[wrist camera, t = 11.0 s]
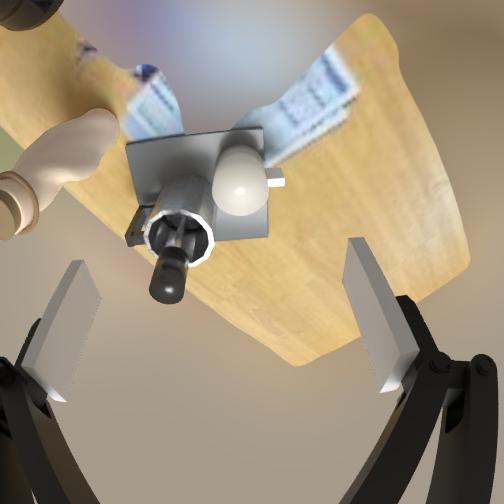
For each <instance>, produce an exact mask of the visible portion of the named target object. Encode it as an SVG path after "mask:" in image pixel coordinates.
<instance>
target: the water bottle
mask: <svg viewBox="0 0 504 504" xmlns="http://www.w3.org/2000/svg"><path fill="white" fill-rule="evenodd" d="M118 136H119V124H118V120H117V118H116V117H115V116H114V114H112V113H111V112H110V111H108V110H106V109H102V108H95V109H92V110H90V111H88V112H86V113H85V114H84V115H82V116H81V117H77V118H74V119H71V120H68V121H66V122H63V123H61V124H59V125H56V126H54V127H52V128H50V129H49V130H47V131H46V132H44V133H43V134H42V135H41V136H40V137H39V138H38V139H37V140H36V141H35V142H33V143H32V144H31V145H30V146H29V147H28V148H27V149H26V150H25V151H24V152H23V154H22V155H21V156H20V158H19V159H18V161H17V162H16V164H15V166H14V168H13V169H12V170H11V171H6V172H3V173H0V240H4V241H5V240H9V239H10V238H12V236H13V235H14V234H26V233H29V232H30V231H31V230H32V229H33V228H34V227H35V226H36V224H37V222H38V217H39V212H41V211H42V210H44V209H45V208H46V207H47V206H48V205H49V204H50V203H51V202H52V200H53V199H54V198H55V196H56V195H57V193H58V192H59V190H60V189H61V187H62V186H63V184H64V183H65V182H67V181H79V180H83V179H86V178H87V177H88V176H90V175H91V174H92V173H93V172H94V171H95V170H96V168H97V167H98V165H99V163H100V160H101V158H102V156H103V155H104V153H105V152H106V151H107V150H108V149H110V148H111V147H112V146H113V145H114V144H115V143H116V141H117V139H118ZM32 218H33V220H32V222H31V224H30V225H29V226H28V227H26V228H24V227H25V226H26V225H27V224H28V223H29V222H30V221H31V219H32ZM23 228H24V229H23Z"/></svg>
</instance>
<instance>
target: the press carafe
mask: <svg viewBox="0 0 504 504" xmlns="http://www.w3.org/2000/svg"><path fill="white" fill-rule="evenodd" d="M217 208H218V206H217V204H216V203H215V201H214V199H213V195H212V184H211V183H210V182H209V181H208V180H207V178H204V177H202V176H199V175H196V174H194V173H186V174H177V175H175V176H174V177H173V178H171V179H170V180H169V181H167V182H166V183H165V184H164V186H163V188H162V191H161V193H160V195H159V197H158V199H157V202H156V204H155V205H147V206H145V205H140V206H139V208H138V210H137V211H136V213H135V215H134V217H133V219H132V221H131V223H130V225H129V227H128V229H127V232H126V234H125V239H126V242H127V245H128V247H132V246H135V245H142V244H146V246H147V250H148V251H149V252H150V253H151V254H152V255H153V256H154V257H155V258H156V259H158V255H159V253H160V251H161V250H162V249H163V248H165V247H168V246H173V244H174V240H175V236H176V233H177V229H178V227H176V226H174V225H173V224H171V223H170V222H169V221H168V220H167V218H166V216H165V215H167V214H176V213H182V214H184V215H187V216H190V217H192V218H195V219H197V220H198V221H199V222H200V223H201V226H199V227H197V228H194V229H184V234H183V238H182V242H181V247H180V248H181V249H183V250H184V251H185V252H186V253H187V254H188V256H189V265H188V267H194V266H196V265H197V264H199V263H201V262H202V261H204V260H206V259H207V258H208V256H209V254H210V252H211V250H212V248H213V246H214V240H215V229H216V218H217ZM147 217H150V218H149V220H148V223H147V226H146V229H145V231H141V229H142V227H143V225H144V223H145V220H146V218H147Z"/></svg>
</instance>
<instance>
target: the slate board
mask: <svg viewBox="0 0 504 504" xmlns="http://www.w3.org/2000/svg"><path fill="white" fill-rule="evenodd" d="M233 145H247V146H250V147H252V148H254V149H255V150H256V151H257V152H258V153H259V154H260V156H261V157H262V160H263V164H264V168H265V159H264V140H263V128H251V129H238V130H227V131H217V132H207V133H199V134H190V135H183V136H176V137H169V138H162V139H156V140H150V141H144V142H138V143H132V144H127V145H126V146H125V150H126V154H127V158H128V163H129V167H130V171H131V175H132V179H133V184H134V187H135V191H136V195H137V199H138V203H139V206H140V205H145V206H147V205H155V204H156V202H157V199H158V197H159V195H160V193H161V191H162V188H163V186H164V184H165V183H166V182H167V181H169V180H170V179H171V178H173V177H174V176H175V175H177V174H186V173H194V174H196V175H199V176H202V177H204V178H207V180H208V181H209V182H210V183H211V184H212V186H213V179H214V173H215V166H216V161H217V158H218V156H219V155H220V154H221V152H222V151H223V150H225V149H226V148H228V147H230V146H233ZM149 218H150V217H147V218H146V220H145V223H144V225H145V228H146V226H147V223H148V220H149ZM265 237H268V222H267V200H266V202H265V204H264V205H263V206H262V207H261V208H260V209H259V210H258V211H256V212H254V213H252V214H249V215H245V216H235V215H231V214H228V213H226V212H224V211H223V210H221V209H220V208H219V207H218V208H217V218H216V229H215V240H214V242H215V241H228V240H240V239H253V238H265Z"/></svg>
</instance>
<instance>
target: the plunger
mask: <svg viewBox="0 0 504 504" xmlns="http://www.w3.org/2000/svg"><path fill="white" fill-rule="evenodd" d="M165 216H166V218H167V220H168V221H169V222H170V223H171V224H173V225H174V226H176V227H178V229H177V233H176V236H175V240H174V244H173V246H168V247H165V248H163V249H162V250H161V251H160V253H159V255H158V259H157V262H156V265H155V269H154V272H153V276H152V280H151V283H150V286H149V292H150V295H151V296H152V297H153V298H154V299H155V300H156V301H158V302H160V303H163V304H175V303H178V302H179V301H181V300H182V298H183V295H184V289H185V283H186V277H187V271H188V265H189V256H188V254H187V253H186V252H185V251H184V250H183V249H181V248H180V247H181V242H182V238H183V234H184V229H194V228H197V227H199V226H201V223H200V222H199V221H198V220H197V219H195V218H192V217H190V216H187V215H184V214H182V213H176V214H167V215H165Z"/></svg>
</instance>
